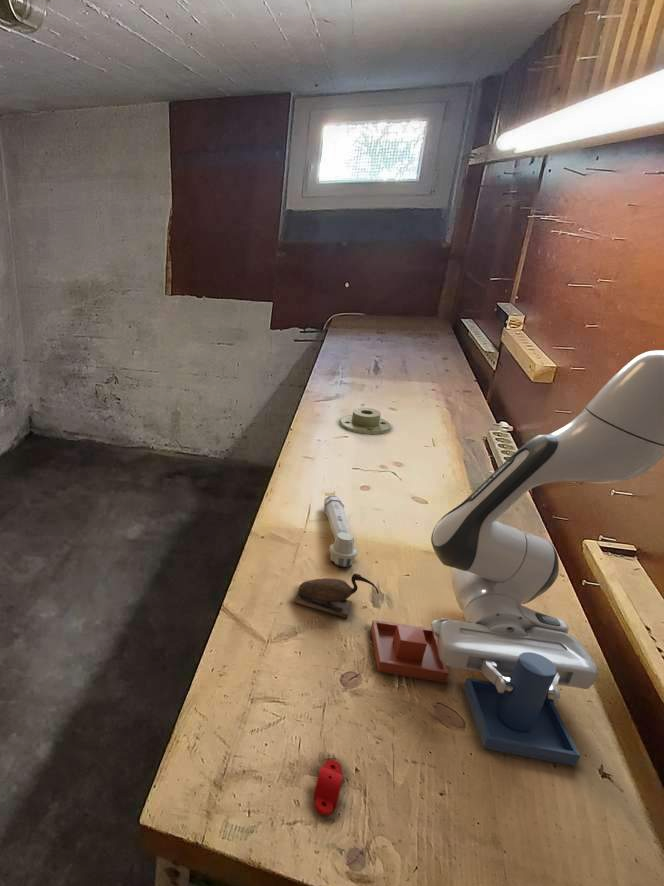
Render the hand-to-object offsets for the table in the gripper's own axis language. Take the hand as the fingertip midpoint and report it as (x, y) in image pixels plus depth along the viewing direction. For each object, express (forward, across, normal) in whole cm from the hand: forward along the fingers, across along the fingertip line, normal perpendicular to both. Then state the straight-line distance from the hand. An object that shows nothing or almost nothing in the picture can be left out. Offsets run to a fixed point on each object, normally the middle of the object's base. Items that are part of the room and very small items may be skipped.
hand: (529, 694), depth 79 cm
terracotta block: (-12, -13, +6) cm, 19 cm away
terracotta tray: (-12, -13, +7) cm, 19 cm away
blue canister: (-1, 0, +6) cm, 6 cm away
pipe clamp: (+16, -27, +7) cm, 32 cm away
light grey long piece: (-47, -22, +7) cm, 52 cm away
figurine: (-22, -24, +7) cm, 33 cm away
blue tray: (-1, 0, +7) cm, 7 cm away
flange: (-118, -9, +7) cm, 118 cm away
